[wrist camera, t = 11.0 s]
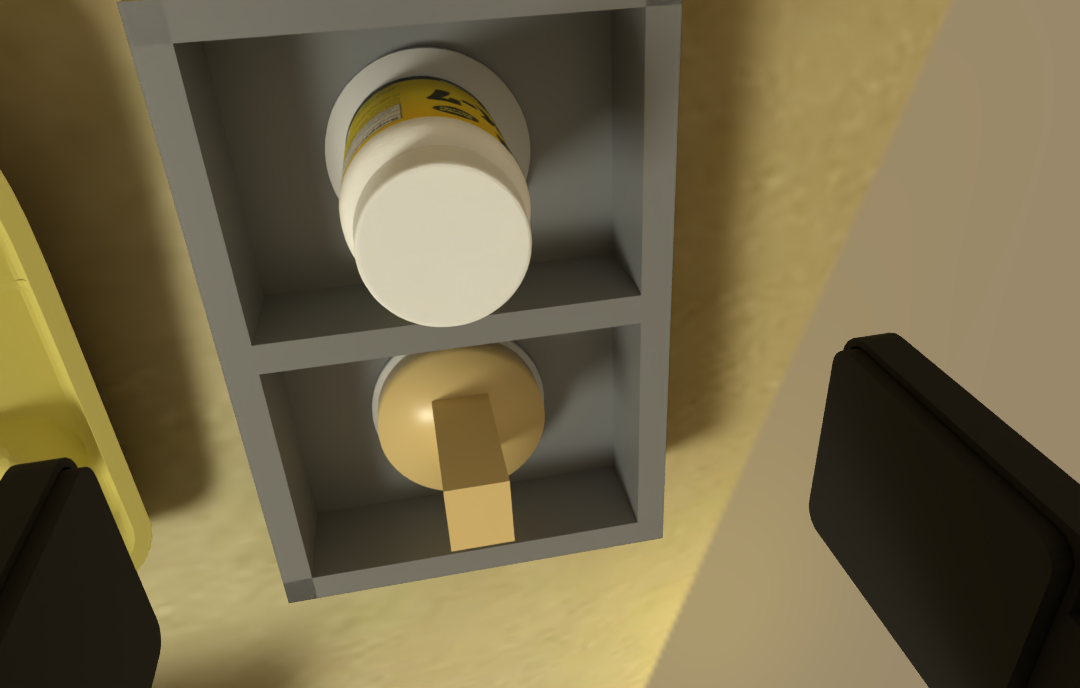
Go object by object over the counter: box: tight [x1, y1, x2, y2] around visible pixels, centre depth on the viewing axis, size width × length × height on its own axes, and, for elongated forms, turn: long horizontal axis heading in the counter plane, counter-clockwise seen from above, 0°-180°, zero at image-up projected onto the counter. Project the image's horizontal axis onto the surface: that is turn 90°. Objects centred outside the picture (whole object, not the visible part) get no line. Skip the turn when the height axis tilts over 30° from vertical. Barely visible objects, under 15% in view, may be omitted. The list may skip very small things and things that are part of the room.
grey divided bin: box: [117, 0, 682, 603], centre depth 25 cm, size 20×14×8 cm
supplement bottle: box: [339, 75, 532, 327], centre depth 21 cm, size 5×5×8 cm
